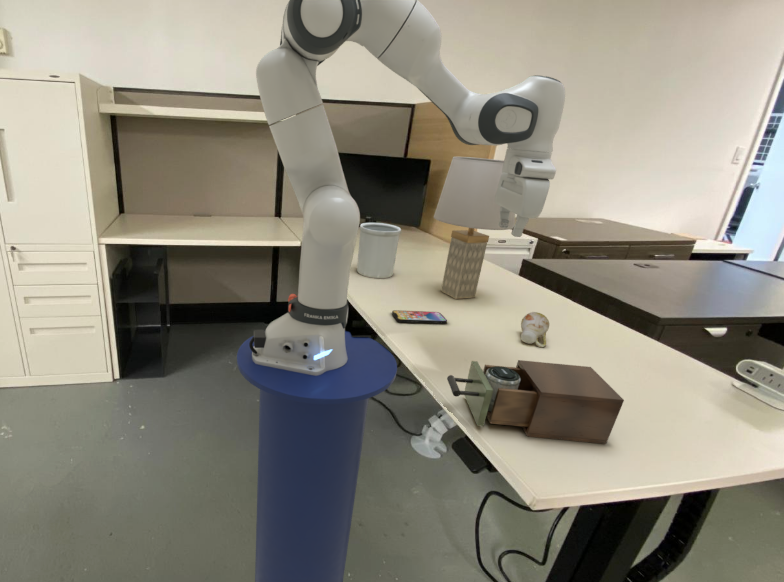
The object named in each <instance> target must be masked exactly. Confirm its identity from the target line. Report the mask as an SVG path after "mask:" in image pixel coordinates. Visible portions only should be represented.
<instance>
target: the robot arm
mask: <svg viewBox="0 0 784 582" xmlns="http://www.w3.org/2000/svg"><path fill="white" fill-rule="evenodd" d="M346 42H352V43H356V44H358V45H359V46H361V47H363V48H365V49H366V50H367V51H368V52H369V53H370V54H371V55H372V56H373V57H374V58H375V59H377V60H378V62H380V63H381V64H382V65H384V66H385V67H387V68H388V69H389V70H391V71H392V72H393V73H394V74H395V75H398V76H399V77H401V78H403V79H404V80H405V81H407V82H408V83H410V84H411V85H413V86H414V87H415V88H417V89H418V91H420V92H421V93H422V94H423V96H425V97H426V98H427V99H428V100H429V101H430V102H431V103H432V104H433V105H434V106H435V107H436V108H438V110H439V111H441V113H442V114H443V115H444V116H445V117H446V119H447V120H448V123H449V124H450V125H449V126H450V127H451V129H452V132H453V134H454V136H455V137H456V139H457V140H458V141H460V142H461V143H462V144H464V145H468V146H479V145H482V146H494V147H496V146H503V145H507V146H506V150H505V156H504V160H503V161H504V164H503V168H502V172H503V173H502V175H501V178H500V181H499V185H498V188H497V192H496V196H495V203H496V204H498V205H500V206H501V207H500V220H499V227H501V228H507V227H508V224H509V213H510V212H513V213H515V215H516V216H515V220H516V221H515V223H514V227H513V228H512V229H511V233H510V234H511V235H512V237H514V238H520V237H522V236H523V232H524V229H525V228H526V226H527V224H528V223H529V220H530V219H537V218H539V216H540V215H541V213H542V212H543V209H544V206H545V203H546V200H547V198H548V194H549V190H550V187H551V186H550V185H551V181H550V180H554V178H555V176H556V173H557V168H556V166H555V165H554V163H553V160H552V159H551V158H552V155H553V151H554V150H553V148H554V147H553V146H554V145H553V144H554V139H555V137H556V134H557V133H558V131H559V128H560V125H561V121H562V117H563V113H564V107H565V102H566V101H565V100H566V87H565V85H564V83H562V82H561V81H560V80H559V79H557V78H554V77H552V76H547V75H545V76H544V75H538V74H537V75H535V74H534V75H530V76H528V77H527V78H525V80H523V81H521V82H519V83H517V84H516V85H513V86H511V87H508V88H506V89H503V90H499V91H497V92H496V91H495V92H490V93H479V92H474V91H472V90H470V89H469V88H467V87H466V86H465V85H464V84H463V83H462V82H461V81H460V80H459V78H457V77H456V76H455V74H453V72H452V71H451V70H450V69H448V67H447V66H446V65H445V64H444V62H443V60H442V57H441V47H442V30H441V27H440V25H439V24H438V22H437V21H436V18H435V17H434V16H433V15H432V13H431V12H430V10H428V8H426V6H425V5H423V3H422V2H421V1H419V0H289V1H287V4H286V6H285V8H284V13H283V16H282V26H281V30H280V41H279V46H278V47H277V48H273V49H272V50H270V51H268V52H267V53H266V54H264V55H263V56H262V58H261V59H260V60H259V62H258V64H257V66H256V69H255V79H256V84H257V89H258V94H259V99H260V102H261V105H262V110H263V112H264V113H263V114H264V116H265V119H266V122H267V125H268V126H269V130H270V133H271V135H272V138H273V141H274V144H275V146H276V149H277V151H278V154H279V157H280V160H281V162H282V165H283V168H284V170H285V172H286V175H287V177H288V180H289V183H290V185H291V188H292V191H293V193H294V196H295V198H296V200H297V204H298V206H299V208H300V212H301V214H302V221H303V222H302V225H303V226H302V235H301V237H302V238H301V248H300V259H299V271H298V288H297V294H295V293H291V294H289V295H288V298H287V301H288V303H287V312H286V313H284V314H283V315H281V316H280V317H277V318H276V319H274V320H273V321H271V322H270V323H269V324H268V325H267V327H266V328H265V329H253V336H254V337H253V338H252V339H251V340H250V343H249V346H250V349H251V350H252V360H253V361H254V363H255V364H258V365H263V366H268V367H273V368H278V369H283V370H288V371H293V372H298V373H304V374H309V375H314V376H317V375H321V374H323V373H324V372H326V371H329V370H334V369H337V368H340V367H342V366H343V365H345V364H346V362H347V360H348V357H347V353H346V346H345V330H346V327H347V324H348V319H349V301H348V293H349V284H350V274H351V269H352V268H351V267H352V263H353V259H354V254H355V249H356V245H357V240H358V235H359V234H358V233H359V229H360V223H361V213H360V208H359V205H358V203H357V201H356V200H355V199H354V198H353V197H352V195H351V193H350V191H349V188H348V184H347V180H346V177H345V173H344V171H343V166H342V163H341V159H340V155H339V151H338V147H337V144H336V143H337V142H336V140H335V137H334V134H333V131H332V127H331V125H330V121H329V118H328V114H327V112H326V109H325V105H324V102H323V99H322V95H321V93H320V91H319V87H318V82H317V68H318V66H319V65H321V64H322V63H323V62H325V61H326V60H327V59H329V58H330V57H332V56H333V55H334V54H335V53H336V52H337V51H338V50H339V49H340V47H341V46H342V45H344V44H345V43H346ZM253 342H254V347H253Z"/></svg>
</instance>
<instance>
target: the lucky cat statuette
mask: <svg viewBox="0 0 784 582" xmlns="http://www.w3.org/2000/svg"><path fill="white" fill-rule="evenodd" d="M520 322H521V323H520V328H521V329H520V330H521V334H520V340H521V341H522V342H524V343H525V344H529V345H531V344H535V345H536V346H537V347H539V348H544V347H546V346H547V332H548V331H549V329H550V321H549V319H548V317H547V316H546V315H545V314H543V313H541V312H538V311H532V312H531V311H530V312H528V313H526V314H525V315H524V316H523V317H522V319H521V321H520ZM539 338H541V339H542V343H540V342H539Z"/></svg>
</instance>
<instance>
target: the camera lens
mask: <svg viewBox="0 0 784 582" xmlns="http://www.w3.org/2000/svg"><path fill="white" fill-rule="evenodd" d="M501 366H502V365H494V367H491V368H489V369H488V370H487V371H486V374H485V376H486V378H487V380H488V382H489V384H490V385H491V387H492V389H493V393H492V397H491V400H490V404H489V408H488V411H489V412H492V408H493V405H494V401H495V397H496V394H497V390H498V388H504V389H514V390H518V387H519V383H520V380H521V379H520V376H519V375H518V374H517V373H516V372H515V371H513V370H511V369H509V368H507V367H508V366H504V367H501Z"/></svg>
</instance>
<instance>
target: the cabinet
mask: <svg viewBox="0 0 784 582" xmlns="http://www.w3.org/2000/svg"><path fill="white" fill-rule="evenodd" d="M515 368H521V370H522V371H523V372H524V374H525V375H526V377H527V378H528V379H529V381H530V382H531V384H532V385H533V387H534V388H535V389H536V391H537V392H538V396H537V400H536V403H535V406H534V409H533V412H532V415H531V418H530V421H529V425H528V427H523V426H520V427H521V428H522V430H523V432H524V433H525V436H526V437H530V438H539V439H540V438H541V439H552V440H561V441H573V442H582V443H591V444H603V445H606V444H607V442H608V441H609V438H610V436H611V433H612V431H613V428H614V426H615V424H616V422H617V419H618V416H619V414H620V411H621V409H622V406H623V404H624V402H625V400H624V398H623V397H622V396H621V395H620V394H619V393H618V392H617V391H616V390H615V389H614V388H612V386H611V385H610V384H609V383H608V382H606V380H604V378H602V376H600V374H598V372H597V371H596V370H594V368H593V367H592V366H584V365H576V364H575V365H573V364H566V363H565V364H564V363H554V362H544V361H543V362H542V361H534V360H533V361H532V360H523V359H522V360H521V359H517V362H516V366H515Z"/></svg>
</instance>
